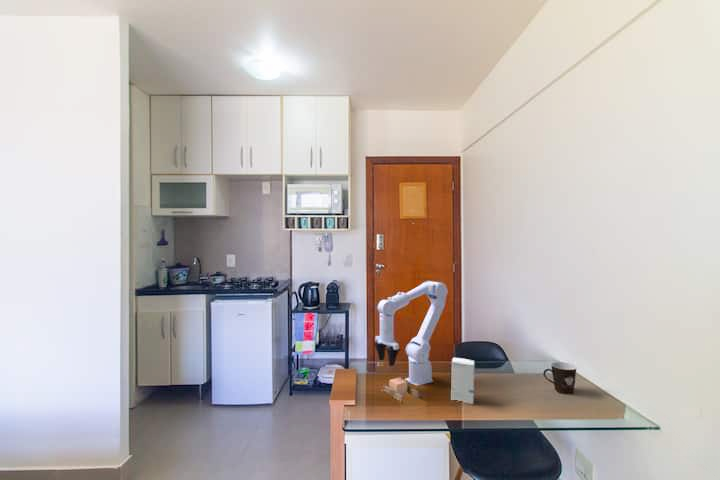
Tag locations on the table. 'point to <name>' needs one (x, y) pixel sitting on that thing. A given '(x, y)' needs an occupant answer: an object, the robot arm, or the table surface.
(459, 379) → the skincare box
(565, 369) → the coffee mug
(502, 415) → the table surface
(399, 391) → the block
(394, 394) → the chute
